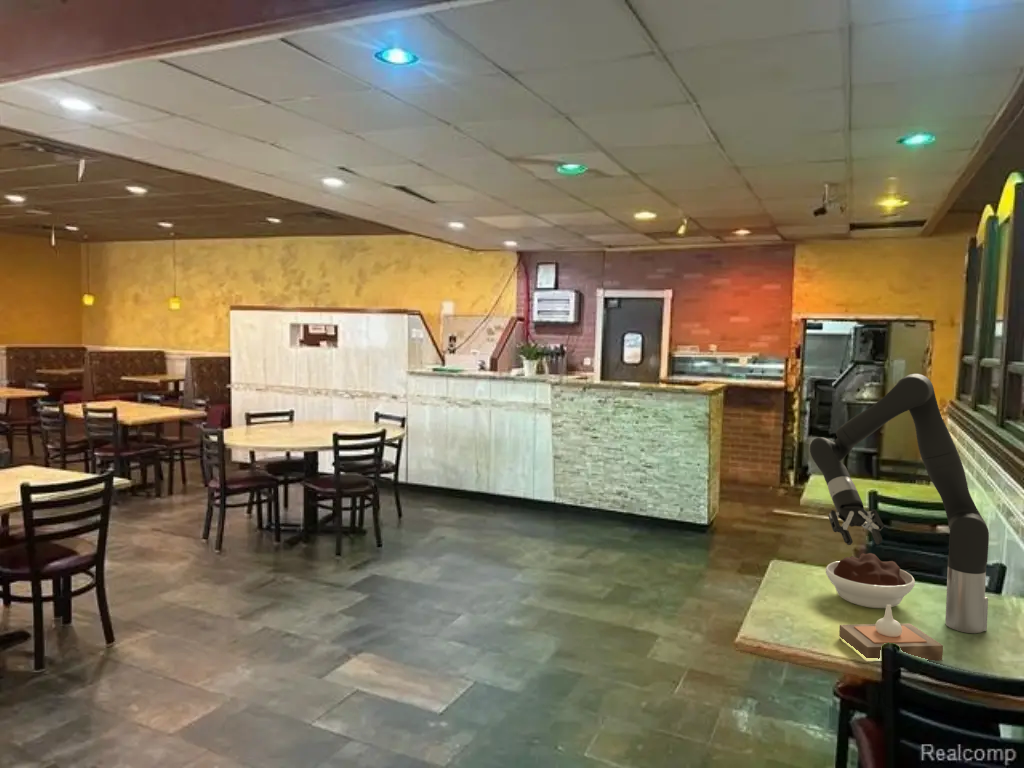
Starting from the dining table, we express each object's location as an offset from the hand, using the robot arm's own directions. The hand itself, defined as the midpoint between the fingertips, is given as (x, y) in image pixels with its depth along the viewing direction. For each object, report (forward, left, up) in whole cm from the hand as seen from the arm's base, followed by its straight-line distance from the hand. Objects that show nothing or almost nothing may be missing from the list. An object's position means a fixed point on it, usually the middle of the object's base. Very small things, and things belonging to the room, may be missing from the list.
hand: (864, 543), depth 199 cm
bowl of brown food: (-12, -19, -25) cm, 33 cm away
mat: (+1, +14, -21) cm, 25 cm away
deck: (+1, +14, -25) cm, 28 cm away
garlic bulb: (+1, +14, -21) cm, 25 cm away
